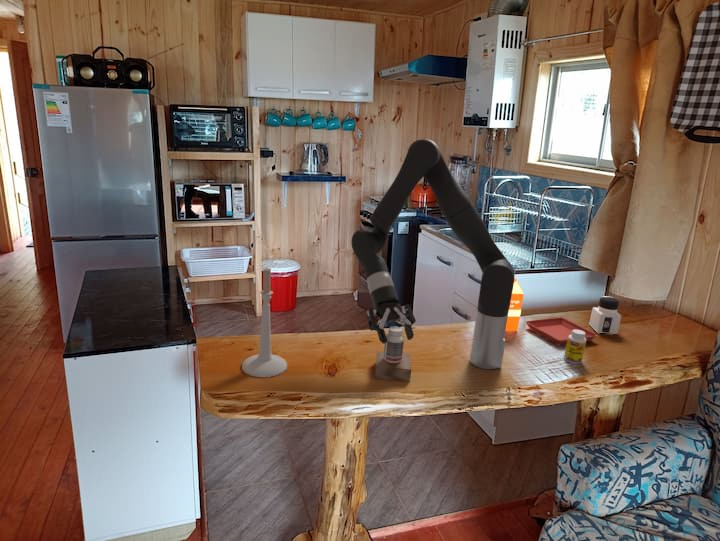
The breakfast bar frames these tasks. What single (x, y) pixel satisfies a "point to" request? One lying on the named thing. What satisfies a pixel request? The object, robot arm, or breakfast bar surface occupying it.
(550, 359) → the breakfast bar surface
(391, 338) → the pill bottle
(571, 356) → the supplement bottle
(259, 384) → the breakfast bar surface
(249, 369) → the grey pole stand
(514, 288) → the orange juice
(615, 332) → the container
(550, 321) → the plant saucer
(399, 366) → the walnut base
